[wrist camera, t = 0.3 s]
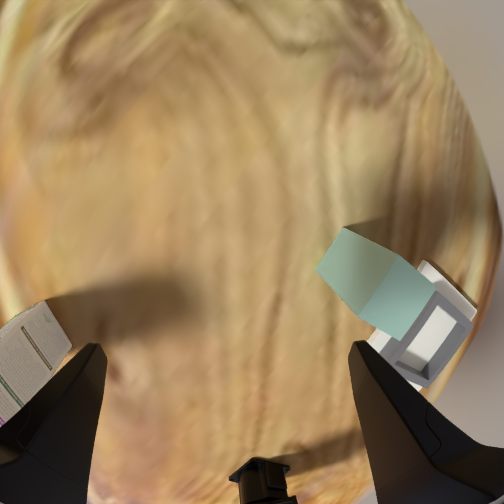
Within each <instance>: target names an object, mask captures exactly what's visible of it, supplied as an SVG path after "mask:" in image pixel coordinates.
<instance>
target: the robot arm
mask: <svg viewBox="0 0 504 504" xmlns="http://www.w3.org/2000/svg"><path fill="white" fill-rule="evenodd" d="M348 363H349V370H350V376H351V383H352V390H353V396H354V401H355V405H356V409H357V413H358V417H359V421H360V424H361V428H362V433H363V437H364V441H365V445H366V449H367V453H368V458H369V462H370V467H371V471H372V476H373V480H374V485H375V490H376V496H377V501H378V504H504V448H498V447H491V446H485V445H482V444H480V443H478V442H476V441H475V440H473V439H472V438H471V437H469V436H468V435H467V434H465V433H464V432H463V431H461V430H460V429H459V428H458V427H456V426H455V425H454V424H453V423H451V422H450V421H449V420H448V419H447V418H445V417H444V416H443V415H442V414H441V413H440V412H439V411H438V410H437V409H436V408H435V407H434V406H433V405H432V404H431V403H430V402H428V401H427V400H426V399H425V398H424V397H423V396H422V395H421V394H420V393H419V392H418V391H417V390H416V389H415V388H414V387H413V386H412V385H411V384H410V383H409V382H408V381H407V380H406V379H405V378H404V377H403V376H402V375H401V374H400V373H399V372H398V371H397V370H396V369H395V368H394V367H393V366H392V365H390V364H389V363H388V362H387V361H386V360H385V359H384V358H383V357H382V356H381V355H380V354H379V353H378V352H377V351H376V350H375V349H374V348H373V347H372V346H371V345H370V344H369V343H368V342H367V341H365V340H360V341H354V342H353V344H352V347H351V350H350V353H349V356H348ZM106 370H107V357H106V355H105V353H104V351H103V349H102V347H101V345H100V344H99V343H93V342H90V343H88V344H87V345H86V346H84V347H83V348H82V349H81V350H80V351H79V352H78V353H77V354H76V355H75V356H74V357H73V358H72V359H71V360H70V361H69V362H68V363H67V364H66V365H65V366H63V367H62V368H61V369H60V370H59V371H58V372H57V373H56V374H55V375H54V376H53V377H52V378H51V379H50V380H49V381H48V382H47V383H46V384H45V385H44V386H43V387H42V388H41V389H40V390H39V391H38V392H37V393H36V394H35V395H34V396H33V397H32V398H31V399H30V400H29V401H28V402H27V403H26V404H25V405H24V406H23V407H22V408H21V409H20V410H19V411H18V412H17V413H16V414H15V415H14V416H12V417H11V418H10V419H9V420H8V421H7V422H6V423H4V424H3V425H2V426H1V427H0V504H86V502H87V492H88V482H89V474H90V467H91V460H92V453H93V447H94V441H95V436H96V430H97V425H98V420H99V415H100V410H101V405H102V400H103V394H104V386H105V378H106ZM289 470H290V466H286V465H281V464H276V463H271V462H266V461H262V460H258V459H250V460H249V461H248V462H247V463H245V464H244V465H243V466H242V467H241V468H239V469H238V470H237V471H236V472H235V473H233V474H232V475H231V476H230V477H229V481H232V482H236V483H238V485H239V496H240V504H298V503H297V499H296V495H294V496H292V497H288V495H287V490H286V489H287V484H286V479H285V475H284V474H286V473H287V472H288V471H289Z"/></svg>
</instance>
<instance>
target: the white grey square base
mask: <svg viewBox="0 0 504 504" xmlns="http://www.w3.org/2000/svg"><path fill="white" fill-rule="evenodd" d="M417 270H418V271H419V272H420V273H421V274H422V275H424V276H425V277H426V278H427V279H428V280H429V281H430V282H432V283H433V284H434V285H435V286H436V287H437V288H436V290H435V291H434V293H433V294H432V296H431V298H430V299H429V301H428V302H427V304H426V305H425V307H424V308H423V310H422V311H421V313H420V314H419V316H418V317H417V318H416V320H415V321H414V323H413V324H412V325H411V327H410V328H409V330H408V331H407V332H406V334H405V335H404V336H403V338H402V339H401V340H400V341H399V340H397V339H395V338H393V337H392V336H390V335H388V334H387V333H385V332H383V331H381V330H380V329H378V328H376V330H375V331H374V332H373V334H372V335H371V336H370V338H369V339H368V340H367V342H368V343H369V344H370V345H371V346H372V347H373V348H374V349H375V350H376V351H377V352H378V353H379V354H380V355H381V356H382V357H383V358H384V359H385V360H386V361H387V362H388V363H389V364H390V365H392V366H393V367H394V368H395V369H396V370H397V371H398V372H399V373H400V374H401V375H402V376H403V377H404V378H405V379H406V380H407V381H408V382H409V383H410V384H411V385H412V386H413V387H414V388H415V389H416V390H417V391H419V390H420V389H421V388H422V387H424V388H428V387H429V386H430V385H431V384H432V382H433V381H434V380H435V379H436V377H437V376H438V375H439V374H440V372H441V371H442V370H443V369H444V367H445V366H446V365H447V363H448V362H449V361H450V359H451V358H452V357H453V355H454V354H455V353H456V351H457V350H458V348H459V347H460V346H461V344H462V343H463V341H464V340H465V338H466V337H467V335H468V334H469V332H470V331H471V329H472V328H473V326H474V324H473V323H472V322H471V320H472V319H473V317H474V316H475V314H476V312H477V310H476V309H475V308H474V307H473V306H472V305H471V304H470V303H469V302H468V301H467V300H466V299H465V298H464V297H463V296H462V295H461V294H460V293H459V292H458V291H457V290H456V289H455V288H454V287H453V286H452V285H451V284H450V283H449V282H448V281H447V280H446V279H445V278H444V277H443V276H442V275H441V274H440V273H439V272H438V271H437V270H436V269H435V268H433V267H432V266H431V265H430V264H429V263H428V262H427V261H425V260H422V262H421V263H420V265H419V266H418V268H417Z"/></svg>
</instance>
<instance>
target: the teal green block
mask: <svg viewBox="0 0 504 504" xmlns="http://www.w3.org/2000/svg"><path fill="white" fill-rule="evenodd" d="M315 271H316V272H317V273H318V274H319V275H320V276H321V277H322V278H323V279H324V280H325V281H326V283H327V284H328V285H329V286H330V287H331V288H332V289H333V290H334V291H335V292H336V294H337V295H338V296H339V297H340V298H341V299H342V300H343V301H344V302H345V303H346V305H347V306H348V307H349V308H350V309H351V310H352V311H353V312H354V313H355V315H356V316H357V317H359V318H361V319H362V320H364V321H366V322H367V323H369V324H371V325H373V326H374V327H376V328H378V329H380V330H381V331H383V332H385V333H387V334H388V335H390V336H392V337H393V338H395V339H397V340H399V341H400V340H401V339H402V338H403V336H404V335H405V334H406V332H407V331H408V330H409V328H410V327H411V325H412V324H413V323H414V321H415V320H416V318H417V317H418V316H419V314H420V313H421V311H422V310H423V308H424V307H425V305H426V304H427V302H428V301H429V299H430V298H431V296H432V294H433V293H434V291H435V290H436V288H437V287H436V286H435V285H434V284H433V283H432V282H430V281H429V280H428V279H427V278H426V277H425V276H424V275H422V274H421V273H420V272H419V271H418V270H417V269H415V268H414V267H413V266H412V265H411V264H409V263H408V262H407V261H406V260H405V259H403V258H402V257H401V256H400V255H398V254H396V253H394V252H392V251H390V250H389V249H387V248H385V247H383V246H381V245H379V244H377V243H375V242H373V241H371V240H369V239H367V238H365V237H362V236H360V235H358V234H356V233H354V232H352V231H350V230H348V229H346V228H344V227H342V229H341V230H340V232H339V234H338V235H337V237H336V238H335V240H334V241H333V243H332V244H331V246H330V247H329V249H328V250H327V252H326V254H325V255H324V257H323V258H322V260H321V261H320V263H319V264H318V266H317V267H316V269H315Z"/></svg>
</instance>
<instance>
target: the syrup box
mask: <svg viewBox="0 0 504 504" xmlns="http://www.w3.org/2000/svg"><path fill="white" fill-rule="evenodd" d="M71 348H72V344H71V342H70V341H69V339H68V337H67V336H66V334H65V332H64V331H63V329H62V328H61V326H60V325H59V323H58V321H57V320H56V318H55V317H54V315H53V313H52V312H51V310H50V308H49V307H48V305H47V303H46V301H45V300H44V301H41V302H39V303H37V304H35V305H33V306H31V307H29V308H27V309H26V310H24V311H22V312H20V313H19V314H17V315H15V316H14V317H13V318H12V319H11V320H10V321H9V322H8V323H6V324H5V325H4V326H3V327H2V328H1V329H0V427H1V426H2V425H3V424H4V423H6V422H7V421H8V420H9V419H10V418H11V417H12V416H14V415H15V414H16V413H17V412H18V411H19V410H20V409H21V408H22V407H23V406H24V405H25V404H26V403H27V402H28V401H29V400H30V399H31V398H32V397H33V396H34V395H35V394H36V393H37V392H38V391H39V390H40V389H41V388H42V387H43V386H44V385H45V384H46V383H47V382H48V381H49V380H50V378H51V377H52V375H53V374H54V372H55V371H56V369H57V368H58V366H59V365H60V363H61V362H62V361H63V359H64V358H65V356H66V355H67V353H68V352H69V350H70V349H71Z"/></svg>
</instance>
